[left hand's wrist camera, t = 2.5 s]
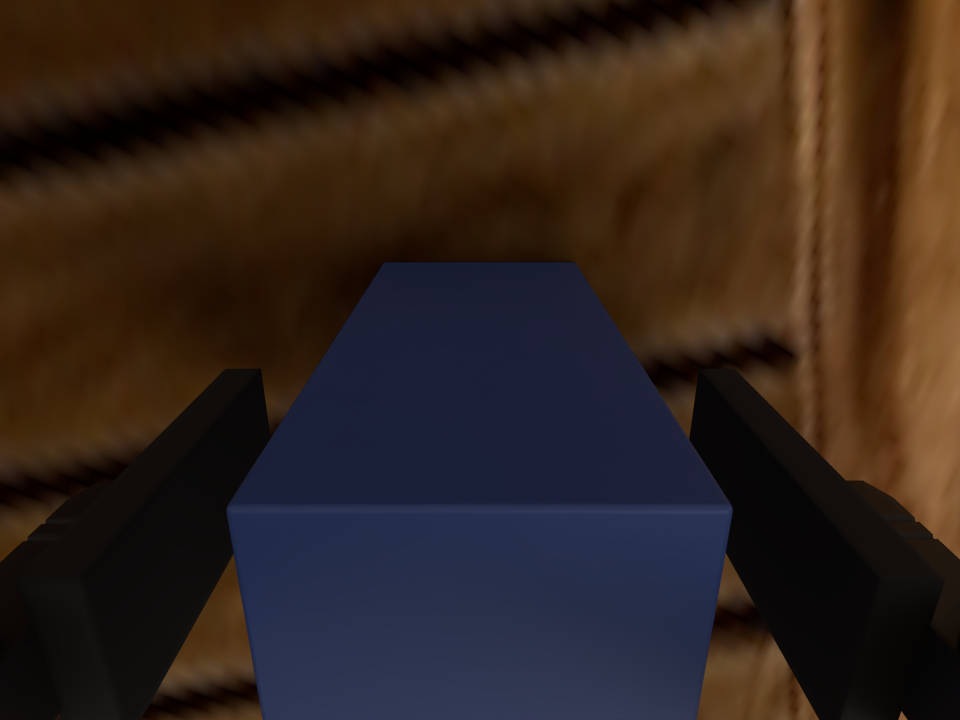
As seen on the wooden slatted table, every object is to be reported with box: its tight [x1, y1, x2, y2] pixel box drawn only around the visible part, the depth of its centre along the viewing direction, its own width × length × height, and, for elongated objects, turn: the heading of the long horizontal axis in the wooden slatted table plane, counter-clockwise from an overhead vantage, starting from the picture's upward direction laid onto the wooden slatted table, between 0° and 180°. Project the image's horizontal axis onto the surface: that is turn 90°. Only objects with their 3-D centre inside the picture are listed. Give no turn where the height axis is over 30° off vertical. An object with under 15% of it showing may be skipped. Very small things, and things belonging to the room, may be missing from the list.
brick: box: [227, 262, 733, 720], centre depth 12 cm, size 5×6×10 cm
